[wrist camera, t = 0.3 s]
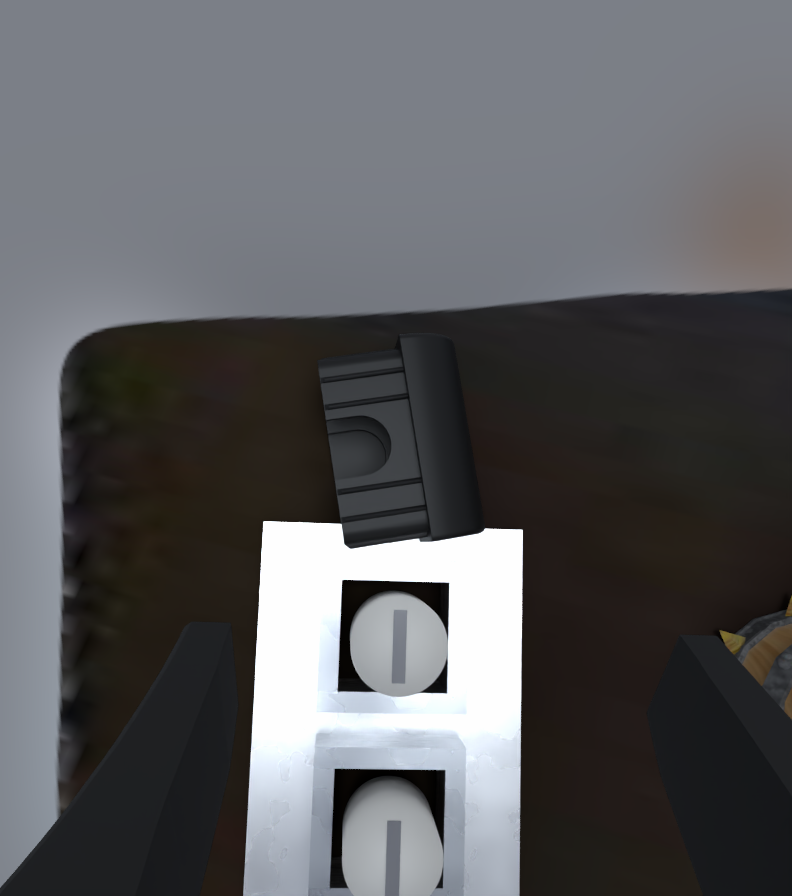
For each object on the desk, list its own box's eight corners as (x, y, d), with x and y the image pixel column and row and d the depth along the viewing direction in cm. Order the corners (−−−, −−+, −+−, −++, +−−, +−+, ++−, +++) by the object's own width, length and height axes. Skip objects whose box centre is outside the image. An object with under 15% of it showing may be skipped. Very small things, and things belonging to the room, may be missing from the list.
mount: (514, 914, 38) (531, 951, 35) (244, 914, 37) (234, 952, 34) (518, 530, 41) (534, 529, 37) (265, 522, 40) (258, 520, 37)
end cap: (472, 533, 41) (497, 531, 34) (345, 553, 40) (346, 555, 33) (443, 359, 42) (462, 324, 35) (319, 376, 41) (314, 344, 34)
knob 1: (435, 680, 37) (447, 698, 33) (348, 678, 37) (348, 696, 32) (437, 591, 37) (449, 597, 33) (351, 588, 37) (352, 595, 33)
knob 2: (431, 870, 36) (442, 915, 31) (340, 870, 35) (339, 915, 31) (433, 776, 36) (444, 807, 32) (344, 775, 36) (344, 806, 32)
